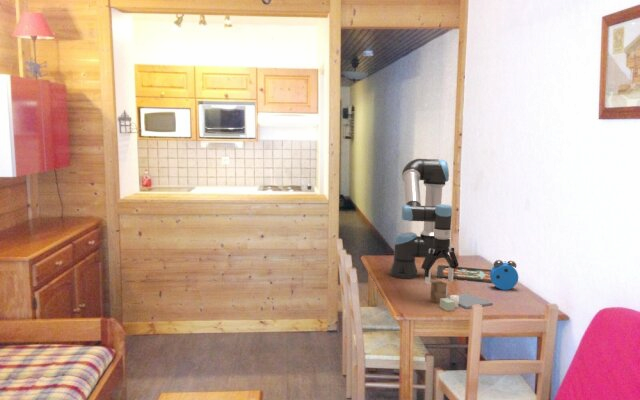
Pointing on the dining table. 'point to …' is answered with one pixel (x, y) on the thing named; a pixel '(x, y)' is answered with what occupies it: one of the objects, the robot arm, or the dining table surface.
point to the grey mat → (471, 300)
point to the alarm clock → (504, 275)
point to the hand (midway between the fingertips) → (439, 282)
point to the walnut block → (438, 291)
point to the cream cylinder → (455, 300)
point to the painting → (466, 274)
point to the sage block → (447, 304)
